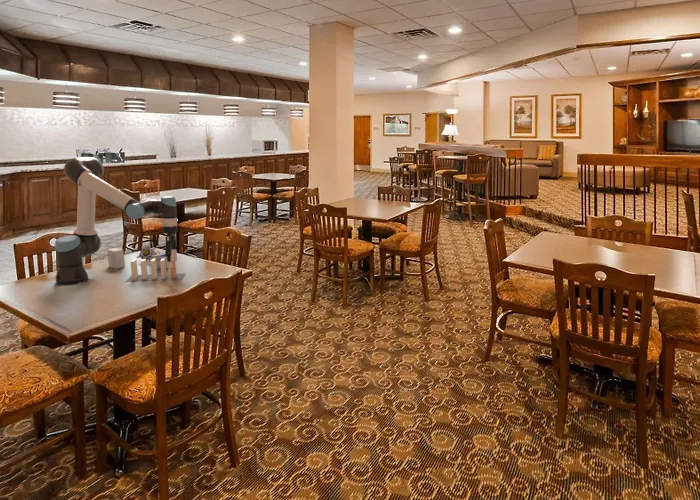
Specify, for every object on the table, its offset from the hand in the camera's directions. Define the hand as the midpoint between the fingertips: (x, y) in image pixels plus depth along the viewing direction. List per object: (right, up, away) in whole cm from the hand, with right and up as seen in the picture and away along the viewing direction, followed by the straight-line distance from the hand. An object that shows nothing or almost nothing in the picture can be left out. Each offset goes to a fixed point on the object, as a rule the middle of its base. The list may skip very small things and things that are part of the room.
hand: (172, 264), depth 274 cm
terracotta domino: (0, -7, +2) cm, 7 cm away
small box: (-41, -2, +23) cm, 47 cm away
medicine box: (-14, -4, +19) cm, 24 cm away
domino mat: (-9, -8, 0) cm, 12 cm away
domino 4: (-5, -7, +1) cm, 9 cm away
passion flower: (-26, 0, +36) cm, 45 cm away
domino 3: (-10, -7, 0) cm, 12 cm away
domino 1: (-19, -8, -1) cm, 21 cm away
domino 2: (-15, -7, -1) cm, 16 cm away
